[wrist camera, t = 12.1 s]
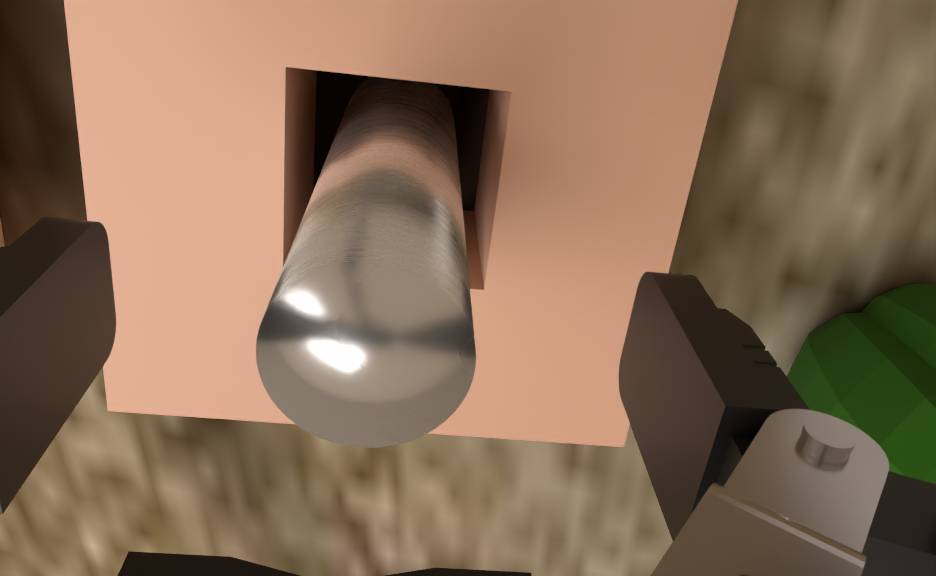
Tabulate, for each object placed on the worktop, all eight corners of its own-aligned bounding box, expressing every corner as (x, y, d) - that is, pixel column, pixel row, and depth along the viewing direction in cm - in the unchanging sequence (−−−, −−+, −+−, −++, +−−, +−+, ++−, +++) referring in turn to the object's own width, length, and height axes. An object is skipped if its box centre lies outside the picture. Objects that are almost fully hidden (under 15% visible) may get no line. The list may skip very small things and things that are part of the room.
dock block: (138, -184, 18) (41, -208, 14) (688, -110, 19) (766, -109, 15) (169, 313, 24) (107, 410, 19) (589, 347, 25) (623, 447, 20)
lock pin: (347, 63, 21) (254, 250, 10) (460, 76, 21) (489, 271, 10) (341, 172, 22) (256, 440, 11) (448, 182, 22) (463, 454, 12)
